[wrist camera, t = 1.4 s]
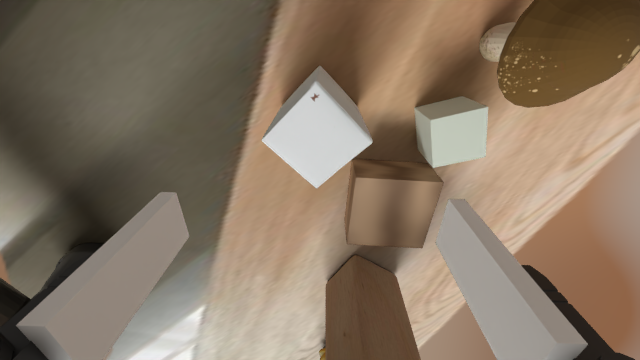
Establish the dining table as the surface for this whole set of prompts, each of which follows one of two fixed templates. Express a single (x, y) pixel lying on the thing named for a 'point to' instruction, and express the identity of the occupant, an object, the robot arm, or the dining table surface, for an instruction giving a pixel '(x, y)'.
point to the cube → (451, 131)
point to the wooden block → (367, 315)
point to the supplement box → (318, 129)
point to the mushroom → (562, 48)
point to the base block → (390, 202)
